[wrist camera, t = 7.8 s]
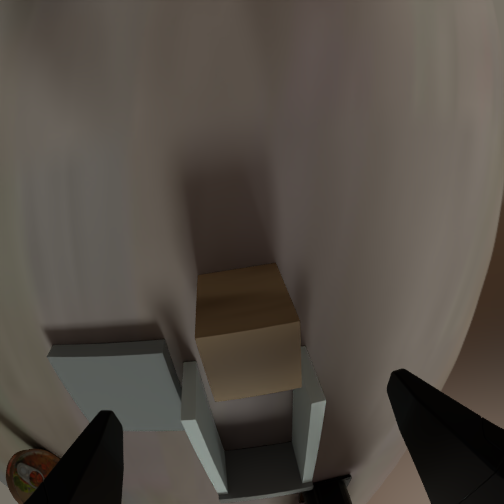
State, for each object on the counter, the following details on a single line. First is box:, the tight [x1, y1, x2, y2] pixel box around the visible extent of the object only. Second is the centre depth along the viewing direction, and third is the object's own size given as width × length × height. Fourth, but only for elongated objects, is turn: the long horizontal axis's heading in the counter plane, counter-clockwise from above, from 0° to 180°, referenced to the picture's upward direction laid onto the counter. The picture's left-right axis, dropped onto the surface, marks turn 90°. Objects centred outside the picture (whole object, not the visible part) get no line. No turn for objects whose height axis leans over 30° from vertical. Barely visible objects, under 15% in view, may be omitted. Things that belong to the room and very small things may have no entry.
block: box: [195, 263, 302, 402], centre depth 15 cm, size 4×4×5 cm
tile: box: [47, 339, 185, 431], centre depth 18 cm, size 8×8×1 cm
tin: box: [6, 449, 60, 504], centre depth 21 cm, size 15×3×8 cm, turn 27°
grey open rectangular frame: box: [181, 346, 326, 503], centre depth 19 cm, size 13×8×5 cm, turn 5°
